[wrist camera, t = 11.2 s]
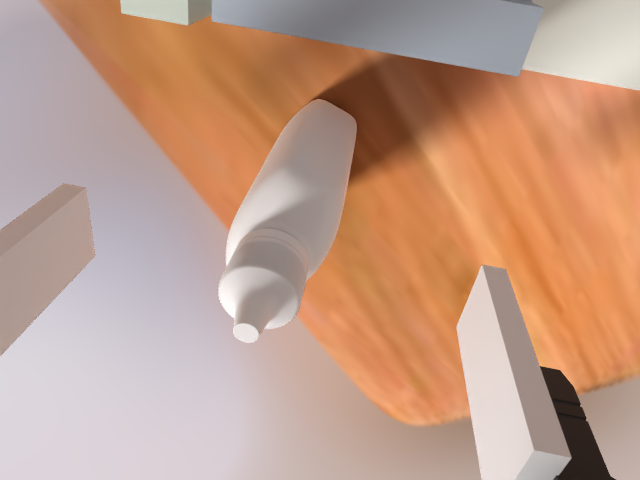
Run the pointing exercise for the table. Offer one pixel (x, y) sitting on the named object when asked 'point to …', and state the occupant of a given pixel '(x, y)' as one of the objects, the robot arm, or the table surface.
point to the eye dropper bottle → (288, 220)
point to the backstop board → (547, 45)
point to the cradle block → (402, 27)
